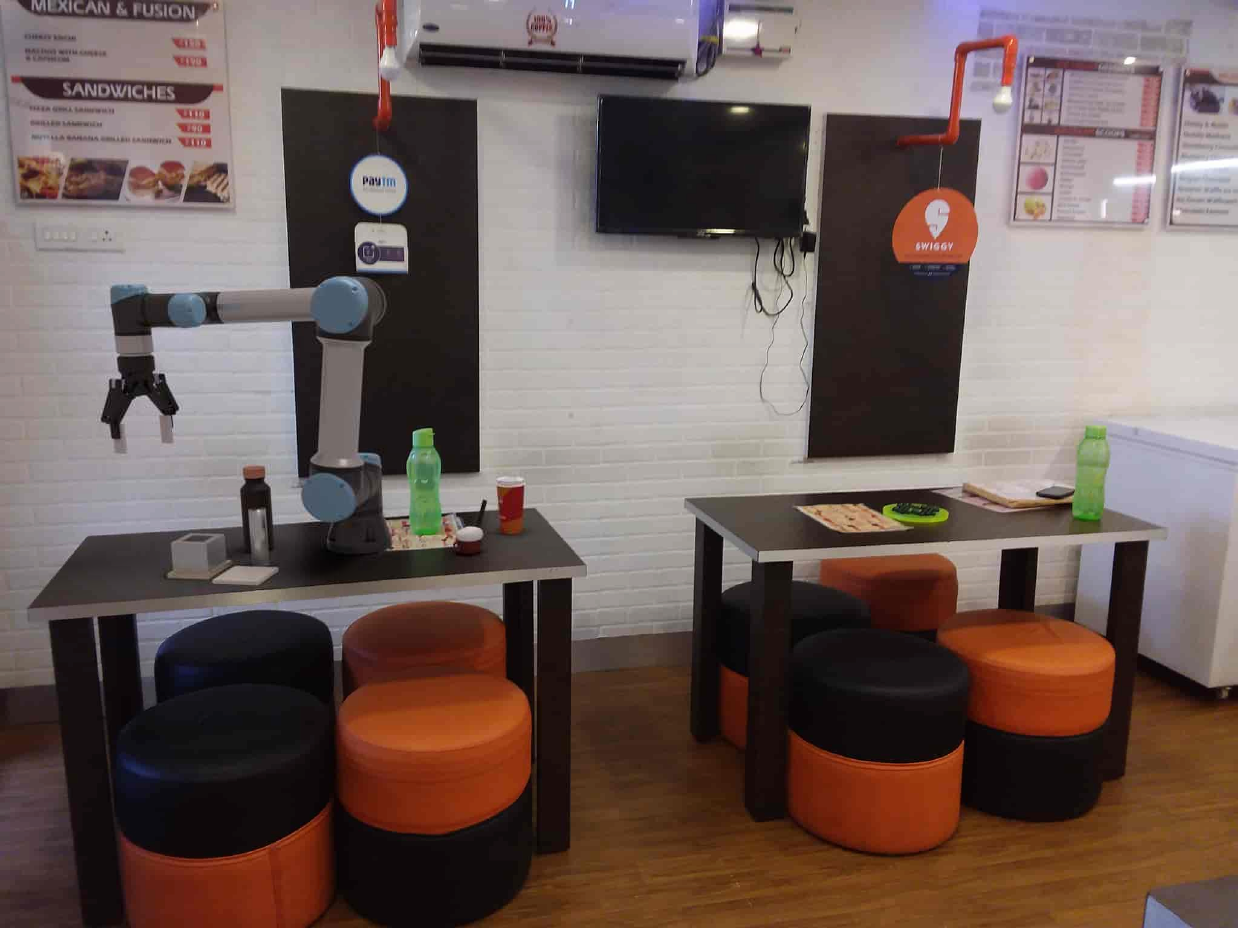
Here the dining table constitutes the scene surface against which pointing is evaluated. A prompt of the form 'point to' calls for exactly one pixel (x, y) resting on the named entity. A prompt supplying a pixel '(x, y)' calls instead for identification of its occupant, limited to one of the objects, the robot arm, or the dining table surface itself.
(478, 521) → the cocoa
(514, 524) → the paper cup
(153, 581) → the dining table surface
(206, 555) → the grey box
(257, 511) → the metal cylinder
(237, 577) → the pad
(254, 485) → the bottle
